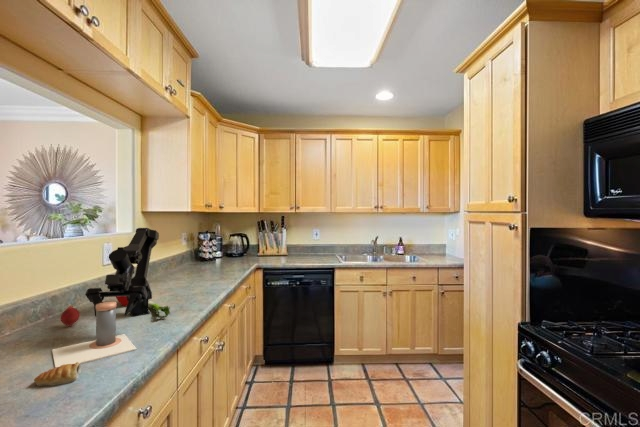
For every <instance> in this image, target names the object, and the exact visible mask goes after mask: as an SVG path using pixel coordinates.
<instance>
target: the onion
mask: <svg viewBox="0 0 640 427" xmlns="http://www.w3.org/2000/svg"><path fill="white" fill-rule="evenodd" d="M80 315H81V314H80V311H79V310H78V309H77V308H75V307H74V305H73V304H72V305H69V306H68V307H67V308H66V309H65V310H64V311H63V312H61V315H60V322H61V323H62V324H63V325H65V326H68V327H72V326H74V324H76V323H77V322H78V321H79V319H80Z"/></svg>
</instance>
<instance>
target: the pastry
mask: <svg viewBox="0 0 640 427" xmlns="http://www.w3.org/2000/svg"><path fill="white" fill-rule="evenodd" d="M81 373H82V368H81V364H80V363H78V362H77V363H75V364H66V365H61V366H60V367H55V366H54V367H53V368H50V369H48V370H46V371H44V372H41V373H40V374H38V376H36V377H35V378H34V380H33V381H34V383H35V385H36V386H39V387H41V386H50V387H51V386H57V385H64V384H69V383H73V382H76V381H77V380H78V379H79V376H80V374H81Z"/></svg>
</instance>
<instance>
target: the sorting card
mask: <svg viewBox="0 0 640 427" xmlns="http://www.w3.org/2000/svg"><path fill="white" fill-rule="evenodd" d="M133 351H137V347H136V346H135V345H134V344H133V342H132V341H131V339H130V338H128V336H127V335H126V334H125V333H123V334H118V335H117V334H116V342H115V343H113V344H110V345H107V346H97V345H96V339H94V340H89V341H86V342H81V343H80V342H79V343H77V344H76V343H75V344H71V345H67V346H61V347H57V348H54V349H51V353H52V357H53V363H54V368H55V367H60V366H61V365H66V364H75V363H77V362H78V363H80V365H81V364H82V365H83V364H86V363H90V362H95V361H98V360H101V359H105V358H110V357H113V356H117V355H122V354H127V353H129V352H133Z"/></svg>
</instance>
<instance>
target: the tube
mask: <svg viewBox="0 0 640 427" xmlns="http://www.w3.org/2000/svg"><path fill="white" fill-rule="evenodd" d="M95 319H96V320H95V340H96V345H97V346H107V345H110V344H113V343H115V342H116V336H117V332H116V330H117V302H116V301H102V303H99V304H96V317H95Z"/></svg>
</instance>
